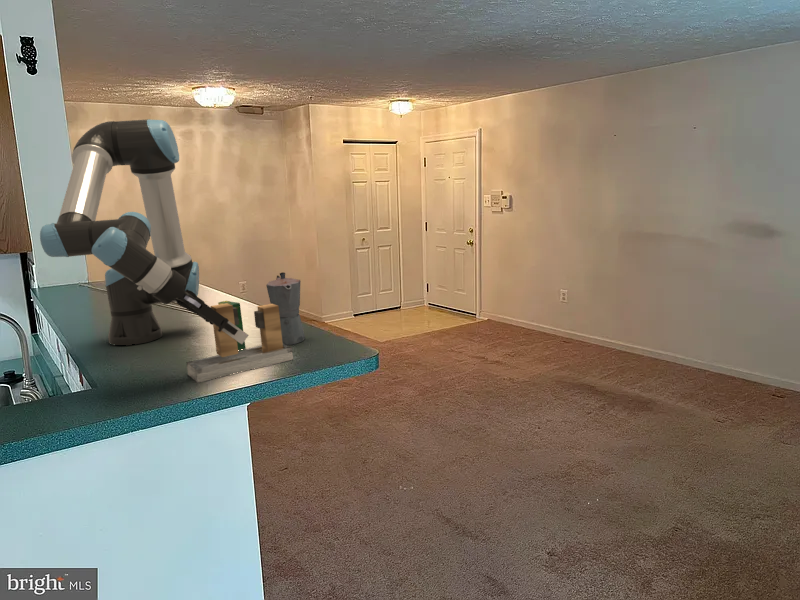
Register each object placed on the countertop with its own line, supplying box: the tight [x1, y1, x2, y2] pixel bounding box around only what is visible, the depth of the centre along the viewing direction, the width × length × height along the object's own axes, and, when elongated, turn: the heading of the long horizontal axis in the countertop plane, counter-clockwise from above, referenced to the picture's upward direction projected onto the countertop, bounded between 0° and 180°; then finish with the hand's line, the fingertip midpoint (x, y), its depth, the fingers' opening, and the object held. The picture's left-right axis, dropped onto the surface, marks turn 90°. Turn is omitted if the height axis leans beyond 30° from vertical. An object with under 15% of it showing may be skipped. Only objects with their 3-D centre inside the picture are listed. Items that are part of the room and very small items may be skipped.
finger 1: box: [210, 303, 239, 357], centre depth 141 cm, size 4×5×12 cm
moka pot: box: [266, 272, 306, 346], centre depth 164 cm, size 10×15×20 cm, turn 27°
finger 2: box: [253, 303, 283, 352], centre depth 147 cm, size 4×5×12 cm
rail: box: [185, 344, 294, 383], centre depth 144 cm, size 8×24×3 cm, turn 125°
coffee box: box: [217, 300, 247, 350], centre depth 161 cm, size 8×3×13 cm, turn 43°
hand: (241, 337), depth 143 cm, fingers closed on finger 1, 4 cm apart
